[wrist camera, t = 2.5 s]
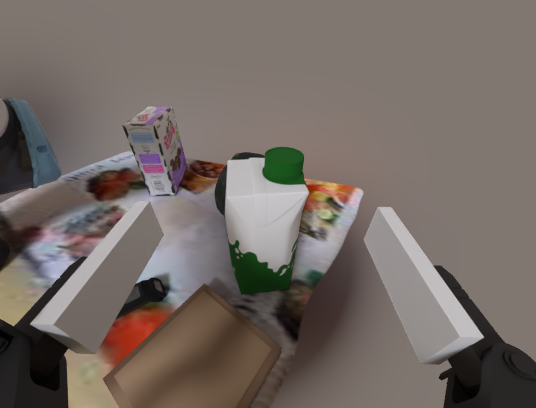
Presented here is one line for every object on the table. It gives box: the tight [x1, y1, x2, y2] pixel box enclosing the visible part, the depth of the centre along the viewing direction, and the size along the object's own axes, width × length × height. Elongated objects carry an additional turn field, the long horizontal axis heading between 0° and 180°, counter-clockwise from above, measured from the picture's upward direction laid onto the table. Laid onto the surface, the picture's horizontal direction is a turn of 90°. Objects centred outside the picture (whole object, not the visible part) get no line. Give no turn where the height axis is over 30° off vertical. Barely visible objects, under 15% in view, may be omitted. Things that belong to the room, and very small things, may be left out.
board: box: [103, 284, 282, 408], centre depth 23 cm, size 13×13×2 cm
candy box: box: [123, 107, 187, 196], centre depth 48 cm, size 14×6×16 cm, turn 5°
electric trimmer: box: [116, 278, 166, 319], centre depth 26 cm, size 4×16×3 cm, turn 125°
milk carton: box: [225, 147, 309, 295], centre depth 27 cm, size 9×9×20 cm
